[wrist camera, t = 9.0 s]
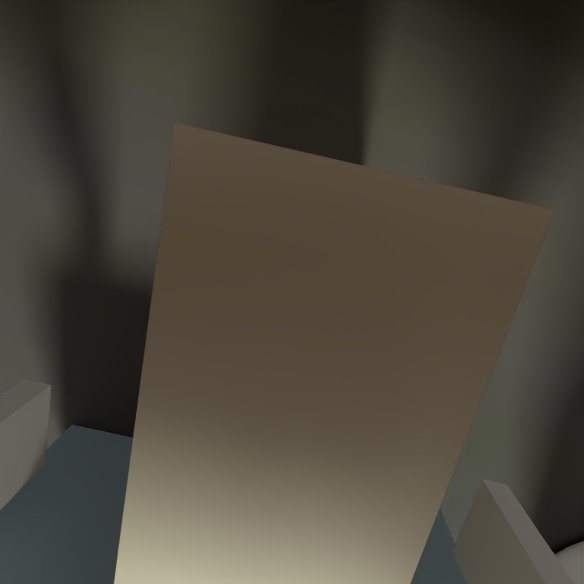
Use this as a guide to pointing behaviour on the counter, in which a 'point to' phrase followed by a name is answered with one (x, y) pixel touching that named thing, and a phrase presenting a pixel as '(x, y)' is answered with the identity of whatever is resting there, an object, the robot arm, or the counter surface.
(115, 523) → the blue board
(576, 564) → the jar
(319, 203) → the birch plate
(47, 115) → the counter surface
